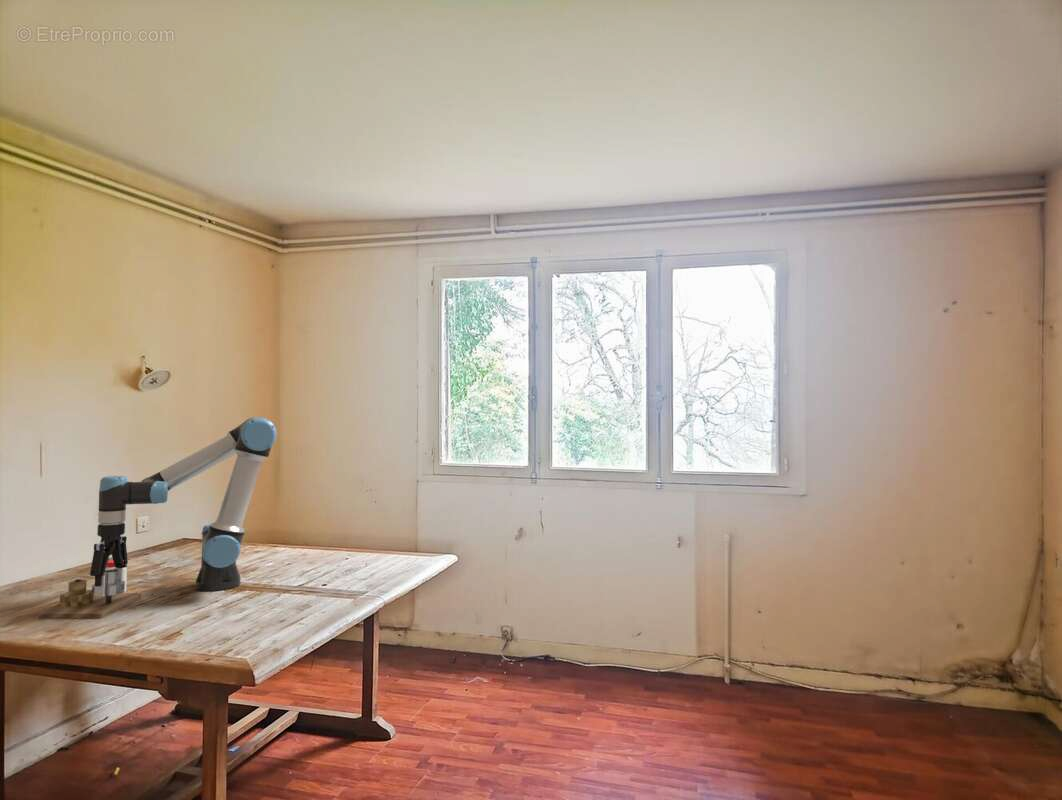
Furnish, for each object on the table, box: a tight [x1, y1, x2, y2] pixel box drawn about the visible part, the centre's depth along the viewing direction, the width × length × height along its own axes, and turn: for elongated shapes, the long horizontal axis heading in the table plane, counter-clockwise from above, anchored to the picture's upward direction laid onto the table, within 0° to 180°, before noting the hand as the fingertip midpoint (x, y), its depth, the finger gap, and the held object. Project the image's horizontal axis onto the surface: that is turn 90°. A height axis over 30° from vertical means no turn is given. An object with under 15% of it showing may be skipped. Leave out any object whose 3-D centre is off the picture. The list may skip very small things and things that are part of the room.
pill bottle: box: [105, 559, 128, 593], centre depth 220 cm, size 8×8×11 cm
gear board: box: [37, 578, 143, 619], centre depth 202 cm, size 19×22×9 cm
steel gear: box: [91, 569, 126, 596], centre depth 203 cm, size 9×9×7 cm
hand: (108, 591), depth 202 cm, fingers closed on steel gear, 9 cm apart
